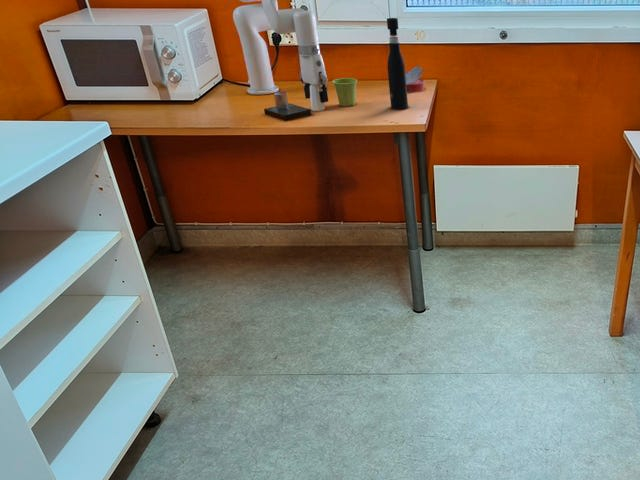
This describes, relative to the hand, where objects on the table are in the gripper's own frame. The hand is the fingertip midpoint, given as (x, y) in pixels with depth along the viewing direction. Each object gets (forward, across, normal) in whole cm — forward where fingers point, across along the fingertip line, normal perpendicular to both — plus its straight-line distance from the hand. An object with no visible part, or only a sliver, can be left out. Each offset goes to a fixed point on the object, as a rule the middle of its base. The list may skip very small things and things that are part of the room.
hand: (316, 100), depth 239 cm
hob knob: (+1, +5, +12) cm, 13 cm away
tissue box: (+3, -3, -44) cm, 45 cm away
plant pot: (+3, -3, -12) cm, 12 cm away
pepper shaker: (+3, 0, 0) cm, 3 cm away
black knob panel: (+3, +2, +12) cm, 13 cm away
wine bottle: (+3, -22, -22) cm, 31 cm away
